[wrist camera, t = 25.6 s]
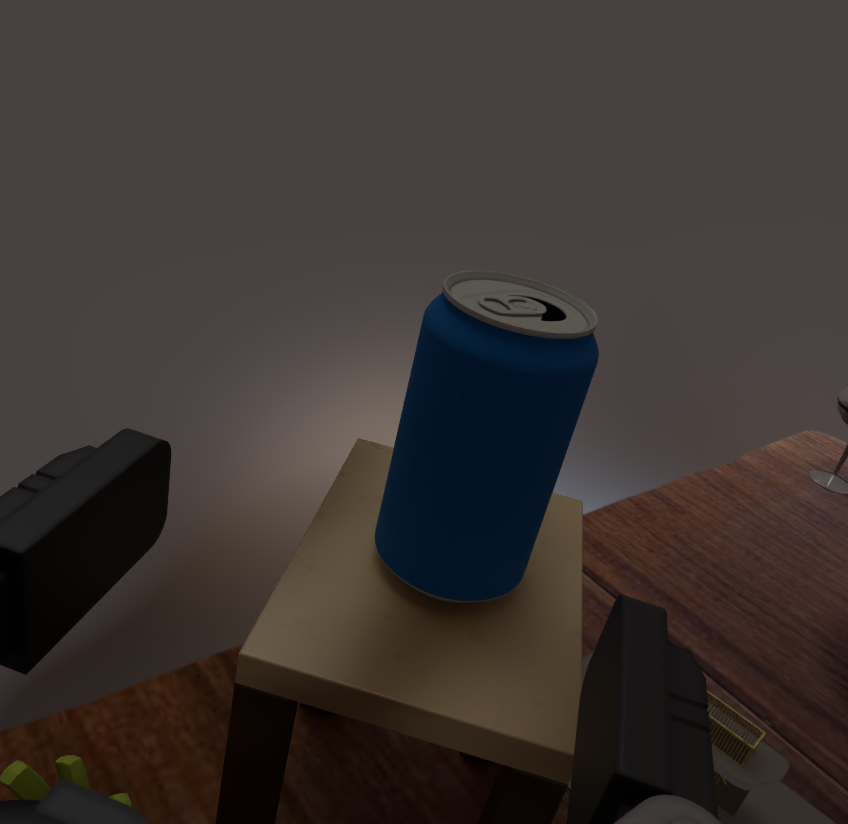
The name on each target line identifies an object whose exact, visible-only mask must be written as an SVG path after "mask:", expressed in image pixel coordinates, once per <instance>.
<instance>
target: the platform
mask: <svg viewBox="0 0 848 824" xmlns="http://www.w3.org/2000/svg"><path fill="white" fill-rule="evenodd" d="M593 652H594V651H593ZM593 652H592V653H590V654H589V655H588V656H587V657H585V658H584V659H583V660H582V685H583V681H584V677H585V673H586V670H587V667H588V664H589V662H590V659H591V657H592V655H593ZM707 694H710V695H709V697H708V700H709V698H710V696H712V699H711V701H710V703H709V702H708V708H707V711H709V720H710V730H709V734H711V742H712V753H713V764H714V775H715V786H716V797H717V808H718V818H719V822H720V823H721V824H836V823H835V822H833V821H832V820H831V819H829V818H828V817H827V816H825V815H824V814H823V813H821V812H820V811H819V810H817V809H816V808H815V807H813V806H812V805H811V804H809V803H808V802H807V801H805V800H804V799H803V798H801V797H800V796H799V795H797V794H796V793H795V792H794V791H792V790H791V789H790V788H788V787H787V786H786V785H784V784H783V783H782V782H780V781H781V780H782V778H783V777H784V775H785V774H786V772H787V770H788V769H789V767H790V765H789V762H788V761H787V759H786V758H784V757H783V756H782V755H780V754H779V753H778V752H776V751H775V750H773V749H772V748H771V747H769V746H768V745H767V744H765V743H764V742H763V741H762V739H763V737H764V736H765V734H766V733H765V732H764V731H763V730H761V729H760V728H759V727H757V726H756V725H754V724H753V723H752V722H750V721H749V720H748V719H746V718H745V717H743V716H742V715H741V714H739V713H738V712H736V711H735V710H734V709H732V708H731V707H730V706H728V705H727V704H725V703H724V702H723V701H721V700H720V699H718V698H717V697H716V696H714V695H713V694H712V693H710V692H709V691H707ZM713 698H715V701H714V703H713V705H712V704H711V702H712V700H713ZM716 700H718V703H717V705H716V707H715V706H714V704H715V702H716ZM719 702H721V703H722V704H721V705H720V707H719V709H717V706H718V704H719ZM722 705H725V706H724V708H723V709H722V711H720V708H721V706H722ZM725 707H728V708H727V710H726V712H725V714H724V713H723V710H724V709H725ZM728 709H730V712H729V714H728V716H727V715H726V713H727V711H728ZM731 711H733V712H734V713H733V715H734V714H735V713H736V714H737V715H736V717H735V719H736V718H737V716H738V715H739V716H740V718H743V720H742V722H743V721H744V720H745V721H746V722H745V724H744V726H743V727H742V726H741V724H742V722H741V723H740V725H739V724H738V722H739V720H740V718H739V719H738V721H737V722H735V719H734V720H732V717H733V715H732V716H731V718H730V717H729V715H730V713H731ZM747 722H748V723H749V725H748V727H749V726H750V724H751V725H752V727H751V729H750V731H747V729H748V727H747V728H746V729H745V728H744V727H745V725H746V723H747ZM753 726H754V727H755V730H754V732H755V731H756V729H758V730H759V731H758V733H759V732H760V731H761V732H762V733H761V735H760V737H759V738H757V735H758V733H757V734H756V736H754V735H753V734H754V732H753V733H750V732H751V730H752V728H753ZM570 787H571V780H570V783H569V784H568V788H569V789H570Z"/></svg>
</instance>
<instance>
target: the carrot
mask: <svg viewBox="0 0 848 824" xmlns="http://www.w3.org/2000/svg"><path fill="white" fill-rule="evenodd" d="M55 763H56V767H57V770H58V774H59V777H60V778H62V779H64V780H67V781H69V782H72V783H74V784H77V785H79V786H82V787H84V788H87V789H89V790H90V788H89V783H88V778H87V773H86V770H85V767H84V765H83V762H82V759H81V758H79V757H77V756H75V755H71V756H63V757H60V758H59V759H58V760H57V761H56V762H55ZM0 781H1V782H2V783H3V784H4V785H5V786H6V787H7V788H8V789H9V790H10V791H11V792H12V793H14V794H15V795H16V796H17V797H18V798H20V799H21V800H40V801H41V800H42V799H43V798H44V797H45V795H46V794H47V793H48V792H49V790H50V789H51V788H50V787H49V786H48V785H47V784H46V783H45V782H44V780H43V779H42V778H41V777H40V776H39V775H38V774H37V773H36V772H35V771H33V770H32V769H31V768H29V767H28V766H27V765H26V764H24V763H23V762H22V761H15V762H14V763H13V764H11V765H10V766H8V767H7V768H6V769H5V770H4V772H3V773H2V775H1V776H0ZM109 798H112V799H114V800H117V801H119V802H122V803H124V804H126V805H129V806H130V807H131V801H130V799H129V796H128V794H123V793H121V794H116V795H112V796H110V797H109Z"/></svg>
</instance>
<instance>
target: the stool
mask: <svg viewBox="0 0 848 824" xmlns="http://www.w3.org/2000/svg"><path fill="white" fill-rule="evenodd" d="M393 449H394V448H391V447H388V446H384V445H381V444H377V443H374V442H370V441H366V440H363V439H358V440H357V441H356V443H355V445H354V447H353V449H352V450H351V452H350V454H349V456H348V458H347V459H346V461H345V463H344V465H343V466H342V468H341V470H340V472H339V474H338V476H337V477H336V479H335V481H334V483H333V485H332V486H331V488H330V490H329V492H328V494H327V495H326V497H325V499H324V501H323V503H322V504H321V506H320V508H319V510H318V512H317V513H316V515H315V517H314V519H313V521H312V523H311V524H310V526H309V528H308V530H307V532H306V533H305V535H304V537H303V539H302V540H301V542H300V544H299V546H298V548H297V550H296V551H295V553H294V555H293V557H292V558H291V560H290V562H289V564H288V566H287V567H286V569H285V571H284V573H283V575H282V577H281V578H280V580H279V582H278V584H277V585H276V587H275V589H274V591H273V593H272V594H271V596H270V598H269V600H268V602H267V604H266V606H265V607H264V609H263V611H262V613H261V614H260V616H259V618H258V620H257V622H256V623H255V625H254V627H253V629H252V631H251V633H250V634H249V636H248V638H247V640H246V641H245V643H244V645H243V647H242V649H241V650H240V652H239V658H238V665H237V672H236V679H235V686H234V693H233V700H232V708H231V715H230V722H229V730H228V737H227V744H226V751H225V759H224V766H223V773H222V781H221V788H220V795H219V803H218V810H217V817H216V824H275V819H276V814H277V809H278V803H279V798H280V793H281V788H282V783H283V777H284V772H285V767H286V762H287V757H288V751H289V746H290V741H291V736H292V731H293V725H294V720H295V715H296V710H297V705H298V702H299V703H300V706H303V707H307V708H310V709H313V710H316V711H320V712H323V713H326V714H329V715H331V714H332V713H335V714H339V715H342V716H345V717H348V718H352V719H355V720H358V721H361V722H365V723H368V724H371V725H374V726H378V727H381V728H384V729H388V730H391V731H394V732H397V733H401V734H404V735H407V736H410V737H414V738H417V739H420V740H423V741H427V742H430V743H433V744H437V745H440V746H443V747H446V748H450V749H453V750H456V751H459V752H460V755H464V756H467V757H470V758H473V759H477V760H480V761H483V762H486V763H490V764H492V762H495V763H499V764H501V766H500V768H499V771H498V773H497V776H496V779H495V781H494V784H493V786H492V789H491V792H490V794H489V797H488V799H487V802H486V805H485V807H484V810H483V812H482V815H481V818H480V820H479V823H478V824H551V822H552V820H553V818H554V816H555V814H556V811H557V809H558V807H559V805H560V803H561V800H562V798H563V796H564V794H565V791H566V789H567V787H568V784H569V783H570V780H571V778H572V768H573V758H574V749H575V739H576V729H577V720H578V710H579V701H580V694H581V689H582V515H583V512H582V511H583V507H582V506H583V503H582V501H580V500H576V499H573V498H569V497H565V496H562V495H559V494H555V493H552V495H551V498H550V501H549V504H548V507H547V510H546V513H545V515H544V518H543V521H542V524H541V527H540V530H539V533H538V536H537V539H536V541H535V544H534V547H533V550H532V553H531V556H530V559H529V562H528V565H527V567H526V570H525V573H524V576H523V578H522V580H521V581H520V583H519V584H518V585H517V587H516V588H514V589H513V590H512V591H511V592H509V593H507V594H506V595H504V596H501V597H499V598H496V599H492V600H488V601H481V602H471V603H452V602H445V601H441V600H437V599H434V598H431V597H428V596H426V595H424V594H421V593H420V592H418V591H416V590H414V589H413V588H411V587H410V586H408V585H407V584H406V583H405V582H404V581H402V580H401V579H400V578H399V577H397V576H396V575H395V574H394V573H393V572H392V571H391V570H390V569H389V568H388V567H387V566H386V565H385V563H384V562H383V561H382V559H381V558H380V556H379V554H378V552H377V549H376V545H375V529H376V525H377V520H378V516H379V512H380V507H381V503H382V498H383V494H384V489H385V485H386V481H387V476H388V472H389V467H390V463H391V458H392V454H393Z"/></svg>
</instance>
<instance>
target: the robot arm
mask: <svg viewBox="0 0 848 824" xmlns="http://www.w3.org/2000/svg"><path fill="white" fill-rule="evenodd" d="M170 464H171V447H170V444H169V443H168V442H167V441H165V440H161V439H158V438H155V437H152V436H150V435H147V434H143V433H141V432H138V431H135V430H132V429H123V430H122V431H120V432H119V433H117V434H116V435H114V436H113V437H112V438H111V439H109V440H108V441H107V442H105V443H104V444H102V445H101V446H100V447H98V448H95V447H92V446H86V447H83V448H80V449H77V450H74V451H71V452H68V453H65V454H62V455H59V456H58V457H56V458H55V459H54V460H52V461H51V462H49V463H48V464H46V465H45V466H43V467H42V468H40V469H39V470H38V471H37V473H36V474H35V475H34V474H32V475H30V476H29V477H28V478H26V479H25V480H23V481H22V482H21V483H19V485H18V487H17V488H16V487H13V488H12V489H10V490H9V491H8V492H6V493H5V494H3V495H2V496H0V665H2V666H5V667H8V668H10V669H12V670H15V671H18V672H20V673H23V674H25V675H26V674H27V673H28V672H29V671H30V670H31V669H32V668H33V667H34V666H35V665H36V664H37V663H38V662H39V661H40V660H41V659H42V658H43V657H44V656H45V655H46V654H47V653H48V652H49V651H50V650H51V649H52V648H53V647H54V646H55V645H56V644H57V643H58V642H59V641H60V640H61V639H62V638H63V637H64V636H65V635H66V634H67V633H68V631H70V629H72V627H73V626H75V624H77V623H78V622H79V620H80V619H81V618H82V617H83V616H84V615H85V614H86V613H87V612H88V611H89V610H90V609H91V608H92V607H93V606H94V605H95V604H96V603H97V602H98V601H99V600H100V599H101V598H102V597H103V596H104V595H105V594H106V593H107V592H108V591H109V590H110V589H111V588H112V587H113V586H114V585H115V584H116V583H117V582H118V581H119V580H120V579H121V578H122V577H123V576H124V575H125V574H126V573H127V572H128V571H129V570H130V569H131V568H132V567H133V565H135V564H136V563H137V562H138V560H140V559H141V558H142V556H143V555H144V554H145V553H146V552H147V551H148V550H149V549H150V548H151V547H152V546H153V545H154V544H155V542H156V541H157V539H158V537H159V535H160V534H161V531H162V529H163V526H164V524H165V520H166V516H167V507H168V492H169V478H170ZM707 708H708V698H707V687H706V678H705V677H704V675H703V673H702V671H701V669H700V668H699V666H698V664H697V662H696V660H695V658H694V657H693V655H692V653H691V651H689V650H686V649H683V648H680V647H677V646H674V645H672V644H669V643H668V635H667V613H666V610H665V609H664V608H661V607H658V606H655V605H652V604H649V603H646V602H643V601H640V600H637V599H634V598H631V597H628V596H625V595H622V594H620V595H619V596H618V597H617V599H616V601H615V603H614V605H613V607H612V610H611V612H610V614H609V617H608V619H607V622H606V624H605V626H604V629H603V631H602V633H601V636H600V638H599V640H598V643H597V645H596V647H595V650H594V652H593V655H592V657H591V659H590V662H589V664H588V667H587V670H586V673H585V677H584V681H583V685H582V689H581V694H580V701H579V710H578V720H577V729H576V739H575V749H574V758H573V768H572V778H571V787H570V797H569V807H568V816H567V824H721V823H720V822H719V818H718V808H717V797H716V786H715V775H714V764H713V753H712V742H711V734H709V730H710V720H709V711H707ZM0 824H152V823H150V822H149V821H148V820H147V819H145V818H144V817H143V816H142V815H140V814H139V813H138V812H136V811H135V810H134V809H133V808H131V807H130V806H129V805H126V804H124V803H122V802H119V801H117V800H114V799H112V798H109V797H107V796H104V795H102V794H99V793H97V792H94V791H92V790H89V789H87V788H84V787H82V786H79V785H77V784H74V783H72V782H69V781H67V780H64V779H62V778H59V779H58V780H57V782H56V783H55V784H54V785H53V787H52V788H51V789H50V790H49V792H48V793H47V794H46V795H45V797H44V798H43V799H42V800H41V801H40V800H7V801H0Z"/></svg>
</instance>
